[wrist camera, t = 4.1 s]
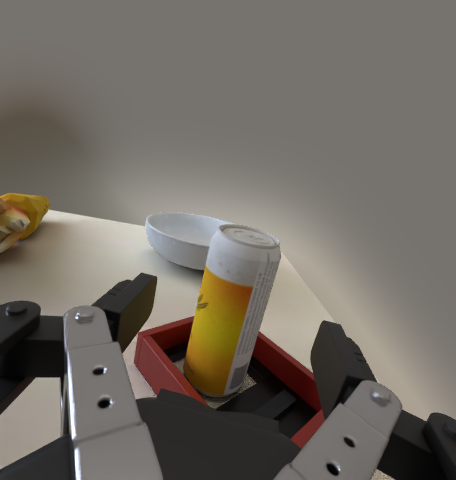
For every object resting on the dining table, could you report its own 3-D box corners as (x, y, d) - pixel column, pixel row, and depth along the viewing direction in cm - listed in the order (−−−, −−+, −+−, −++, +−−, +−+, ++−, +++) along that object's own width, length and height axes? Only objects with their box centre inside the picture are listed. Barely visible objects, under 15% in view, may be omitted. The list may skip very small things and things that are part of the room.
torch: (46, 235, 59) (-20, 275, 36) (8, 212, 57) (-91, 239, 33) (70, 204, 59) (20, 223, 36) (33, 180, 57) (-48, 183, 33)
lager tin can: (210, 347, 32) (241, 221, 28) (254, 380, 29) (296, 243, 24) (169, 371, 27) (198, 224, 23) (215, 415, 24) (260, 252, 20)
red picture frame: (133, 362, 27) (138, 332, 26) (220, 330, 36) (226, 305, 34) (248, 527, 17) (262, 488, 16) (333, 428, 25) (347, 398, 24)
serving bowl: (232, 247, 68) (239, 220, 66) (262, 291, 49) (273, 254, 47) (143, 235, 62) (147, 204, 60) (137, 279, 43) (143, 237, 41)
